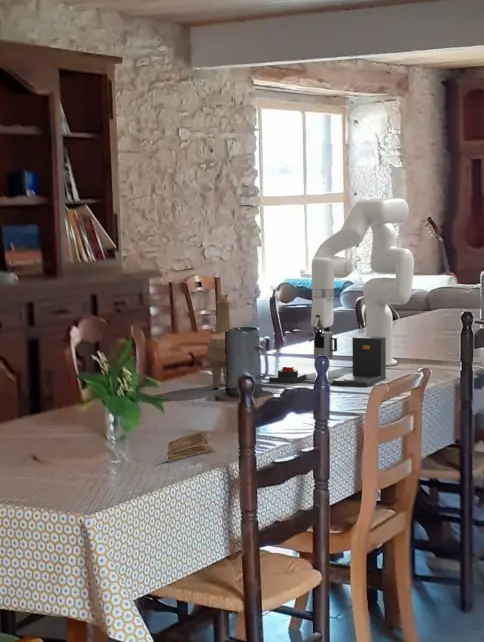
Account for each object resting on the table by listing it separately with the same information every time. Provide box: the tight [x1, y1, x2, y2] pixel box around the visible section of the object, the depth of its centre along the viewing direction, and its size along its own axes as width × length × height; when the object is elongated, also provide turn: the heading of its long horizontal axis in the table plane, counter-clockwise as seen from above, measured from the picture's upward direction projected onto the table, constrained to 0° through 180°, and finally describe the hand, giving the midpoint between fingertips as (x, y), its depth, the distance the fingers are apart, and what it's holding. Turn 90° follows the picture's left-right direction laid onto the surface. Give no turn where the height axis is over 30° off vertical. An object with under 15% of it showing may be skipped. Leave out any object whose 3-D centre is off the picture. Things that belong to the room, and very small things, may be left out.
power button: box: [281, 365, 294, 371], centre depth 393 cm, size 4×4×2 cm
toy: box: [206, 293, 233, 391], centre depth 382 cm, size 9×20×30 cm, turn 174°
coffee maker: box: [332, 335, 387, 388], centre depth 389 cm, size 19×12×14 cm, turn 153°
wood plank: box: [166, 430, 213, 463], centre depth 284 cm, size 15×2×5 cm, turn 142°
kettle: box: [308, 330, 338, 360], centre depth 398 cm, size 6×10×9 cm, turn 63°
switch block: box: [268, 368, 307, 385], centre depth 394 cm, size 11×9×4 cm
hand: (323, 346), depth 397 cm, fingers closed on kettle, 6 cm apart
